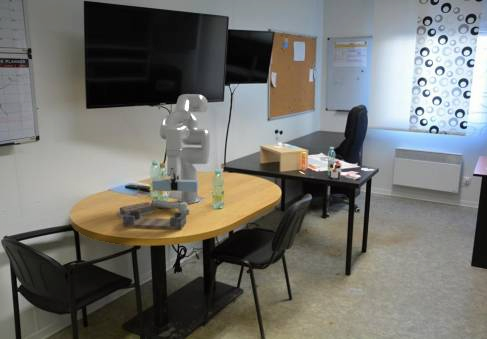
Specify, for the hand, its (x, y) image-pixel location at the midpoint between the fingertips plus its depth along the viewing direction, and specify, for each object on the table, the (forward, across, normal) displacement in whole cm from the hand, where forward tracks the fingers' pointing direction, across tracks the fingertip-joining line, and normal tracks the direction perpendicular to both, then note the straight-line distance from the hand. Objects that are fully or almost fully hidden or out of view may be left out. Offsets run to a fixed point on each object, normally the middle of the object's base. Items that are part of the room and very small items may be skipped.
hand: (175, 188), depth 212 cm
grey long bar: (+18, -17, -7) cm, 26 cm away
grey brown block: (+18, -11, -24) cm, 32 cm away
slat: (+1, 0, 0) cm, 1 cm away
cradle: (+18, +5, -10) cm, 21 cm away
